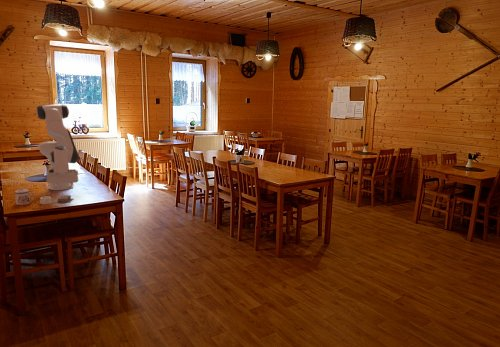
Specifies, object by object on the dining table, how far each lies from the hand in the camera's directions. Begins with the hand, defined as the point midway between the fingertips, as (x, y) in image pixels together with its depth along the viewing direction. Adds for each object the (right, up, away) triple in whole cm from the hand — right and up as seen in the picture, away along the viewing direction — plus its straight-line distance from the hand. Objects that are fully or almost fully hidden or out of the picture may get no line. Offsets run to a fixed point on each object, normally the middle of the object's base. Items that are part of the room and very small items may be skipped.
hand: (63, 188), depth 267 cm
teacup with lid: (-26, -10, -2) cm, 28 cm away
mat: (0, -10, +2) cm, 10 cm away
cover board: (0, -9, +2) cm, 9 cm away
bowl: (-10, -11, -4) cm, 15 cm away
